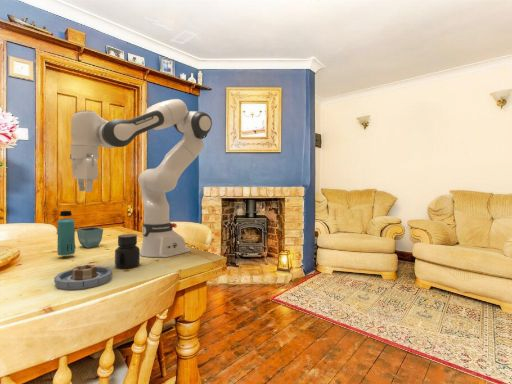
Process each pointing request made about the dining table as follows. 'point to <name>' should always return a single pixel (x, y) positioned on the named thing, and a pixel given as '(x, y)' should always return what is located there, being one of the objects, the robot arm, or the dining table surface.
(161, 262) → the dining table surface
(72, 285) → the groove tray
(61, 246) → the beverage bottle
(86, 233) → the flower pot
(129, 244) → the ink bottle
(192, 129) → the robot arm
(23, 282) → the dining table surface
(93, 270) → the bead loop
